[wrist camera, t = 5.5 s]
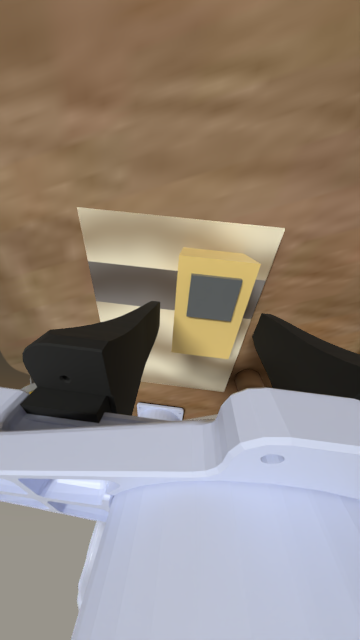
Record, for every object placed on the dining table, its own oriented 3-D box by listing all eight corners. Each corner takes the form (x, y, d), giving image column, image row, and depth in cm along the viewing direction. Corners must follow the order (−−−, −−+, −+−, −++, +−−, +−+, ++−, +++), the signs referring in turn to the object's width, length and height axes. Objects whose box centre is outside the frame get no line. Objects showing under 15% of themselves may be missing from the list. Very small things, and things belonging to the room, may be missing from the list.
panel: (222, 384, 23) (223, 391, 22) (115, 371, 24) (112, 377, 23) (278, 228, 13) (285, 228, 12) (86, 208, 13) (76, 207, 12)
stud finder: (221, 332, 17) (229, 362, 13) (176, 327, 17) (170, 355, 14) (243, 253, 13) (263, 265, 9) (183, 247, 13) (178, 256, 9)
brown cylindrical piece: (255, 387, 23) (273, 434, 18) (231, 384, 23) (241, 429, 18) (264, 370, 21) (286, 417, 16) (237, 367, 21) (251, 412, 16)
